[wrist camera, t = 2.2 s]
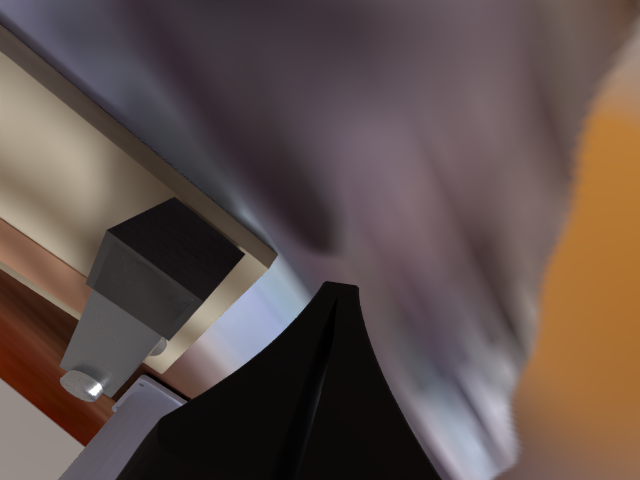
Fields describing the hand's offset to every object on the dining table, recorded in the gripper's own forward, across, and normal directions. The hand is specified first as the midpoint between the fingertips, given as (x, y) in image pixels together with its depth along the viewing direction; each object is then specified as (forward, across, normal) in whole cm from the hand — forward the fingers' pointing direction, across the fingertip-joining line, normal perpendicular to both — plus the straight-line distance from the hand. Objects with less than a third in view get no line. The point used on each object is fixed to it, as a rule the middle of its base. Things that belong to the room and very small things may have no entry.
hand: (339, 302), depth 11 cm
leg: (0, +10, +2) cm, 10 cm away
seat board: (+2, +14, 0) cm, 14 cm away
